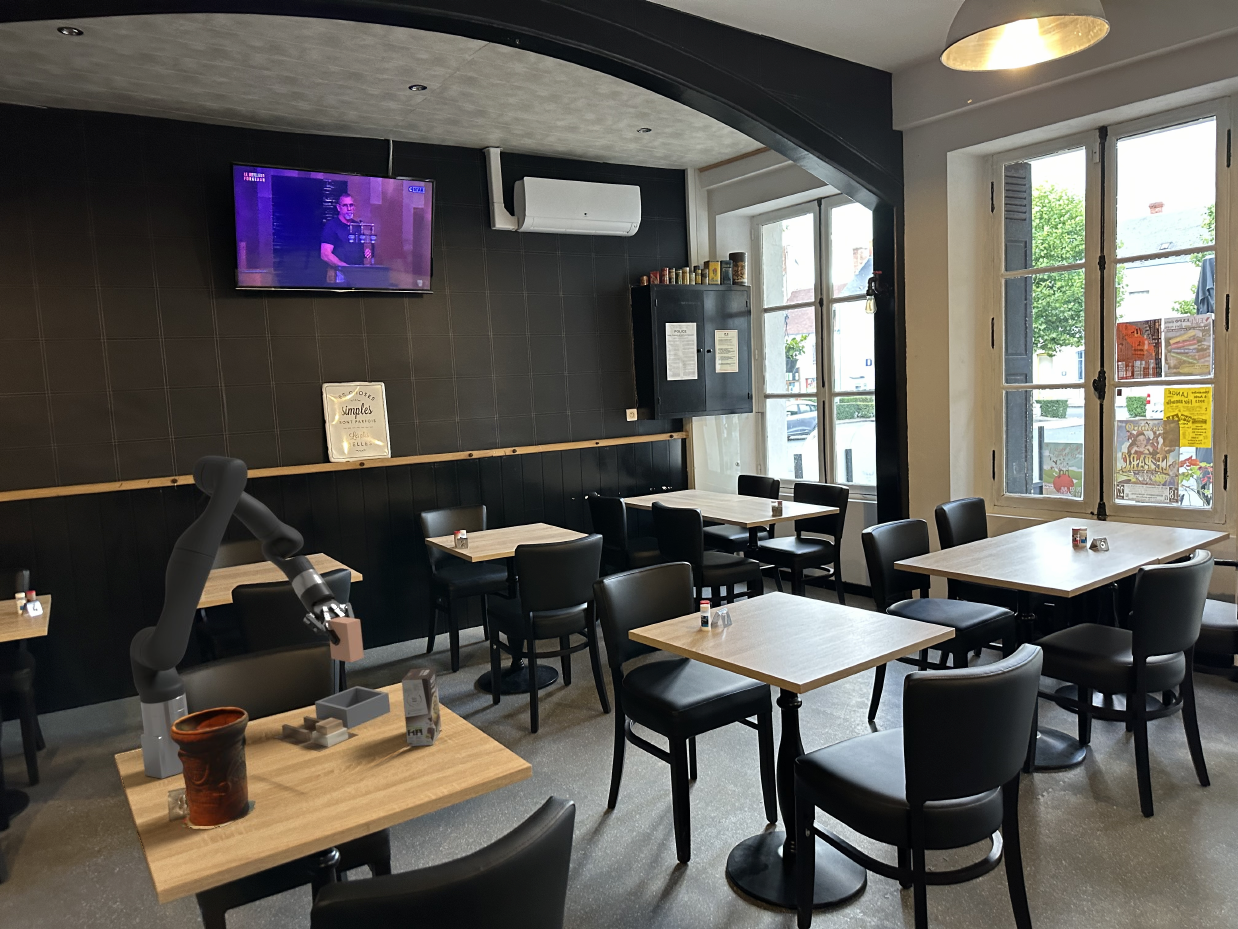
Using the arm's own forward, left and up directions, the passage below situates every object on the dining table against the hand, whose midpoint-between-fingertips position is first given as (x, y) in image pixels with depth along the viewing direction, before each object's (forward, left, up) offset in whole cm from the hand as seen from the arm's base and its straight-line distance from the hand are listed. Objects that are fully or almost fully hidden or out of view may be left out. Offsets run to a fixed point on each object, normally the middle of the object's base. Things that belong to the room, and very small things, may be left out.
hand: (345, 640), depth 223 cm
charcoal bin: (0, 0, -21) cm, 21 cm away
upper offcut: (-14, -6, -17) cm, 23 cm away
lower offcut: (-14, -6, -20) cm, 25 cm away
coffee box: (-5, -27, -21) cm, 35 cm away
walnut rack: (-13, 0, -21) cm, 25 cm away
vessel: (-49, -10, -21) cm, 54 cm away
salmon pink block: (0, 0, -5) cm, 5 cm away
